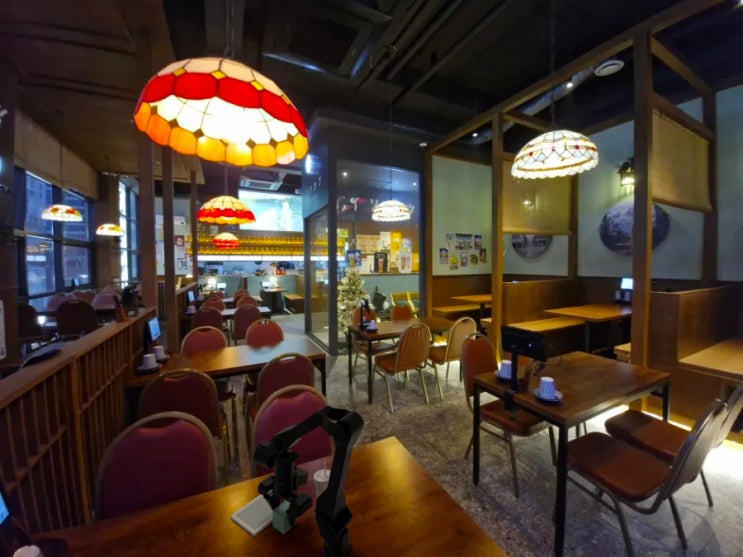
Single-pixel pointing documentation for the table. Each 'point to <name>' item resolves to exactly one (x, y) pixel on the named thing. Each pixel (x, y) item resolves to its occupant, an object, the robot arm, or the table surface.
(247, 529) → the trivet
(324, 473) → the smoothie
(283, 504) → the cube
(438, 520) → the table surface
